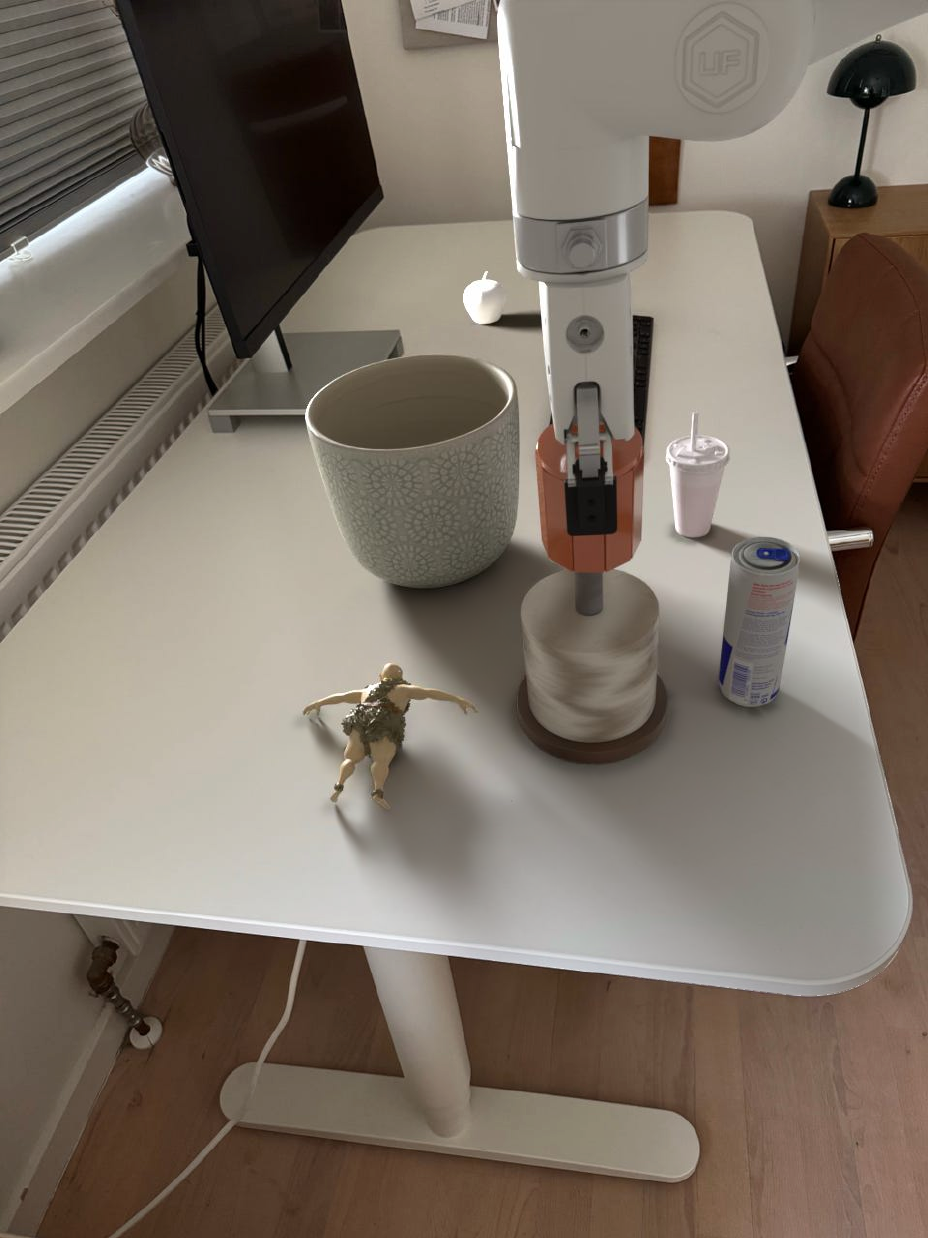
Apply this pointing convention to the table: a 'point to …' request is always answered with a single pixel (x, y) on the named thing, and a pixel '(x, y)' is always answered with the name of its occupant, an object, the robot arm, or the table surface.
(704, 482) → the smoothie
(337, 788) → the figurine
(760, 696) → the beverage can
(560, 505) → the orange brown faceted cylinder
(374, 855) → the table surface
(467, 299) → the plain white apple
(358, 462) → the planter
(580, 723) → the towel holder
